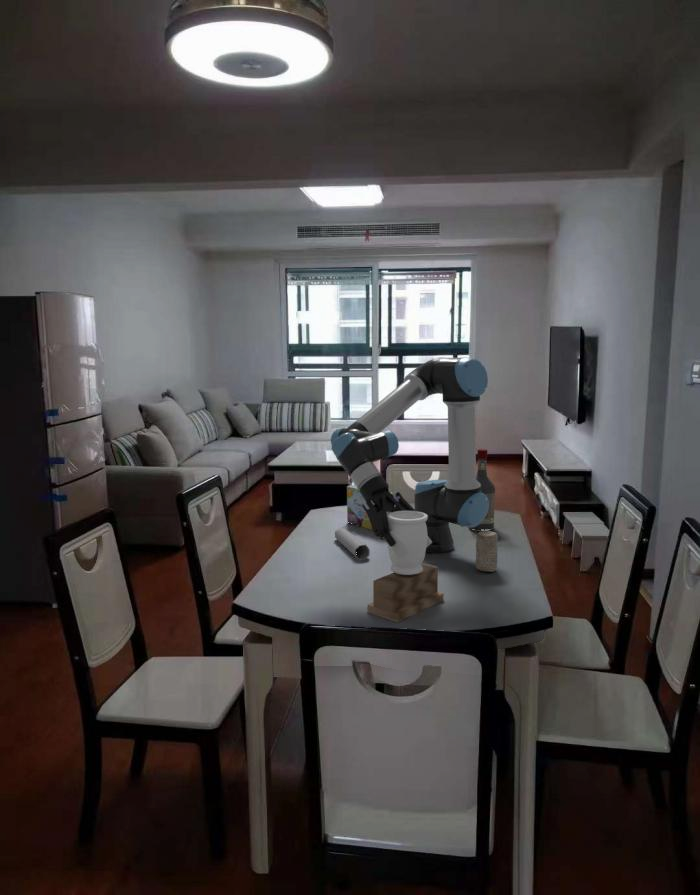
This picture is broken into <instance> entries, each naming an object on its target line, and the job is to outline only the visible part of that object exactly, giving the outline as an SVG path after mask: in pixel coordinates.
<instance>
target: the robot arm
mask: <svg viewBox="0 0 700 895" xmlns="http://www.w3.org/2000/svg"><path fill="white" fill-rule="evenodd" d="M488 377H489V376H488V372H487V369H486V367H485V365H483V364H482V362H481V361H479V360H478V359H476V358H470V357H436V358H435V357H434V358H432V359H430V360H427V361H425V362H424V363H422V364H421V365H418V367H416V368H415V369H413V370H412V371H410V372H409V373H408V374H407V375H406V376H405V377H404V378H403V382H401V384H400V385H398V386H397V387H396V388H395V389H394V390H392V391H391V392H389V394H387V395H386V396H384V398H382V399H381V400H380V401H379V402H378V403H376V404H375V405H374V406H372V407H371V408H370V409H369V410H368V411H366V412H365V413H364V414H363V415H361V416H360V417H359V418H358V419H357V420H355V421H354V422H352V423H351V424H350V425H348V427H340V428H336V429H335V430H334V431H333V432H332V435H331V437H330V444H331V451H332V453H333V454H334V456H335V458H336V460H337V461H338V462H339V463H340V465H341V467H342V468H343V469H344V471H345V472H346V474H347V475H348V477H349V478H350V479H351V481H352V482H353V485H356V487H357V488H358V489H360V493H361V495H362V496H363V498H364V499H365V501H366V502H365V503H364V504H363V508H364V510H365V511H366V512H367V515H368V518H369V520H370V523H371V526H372V528H373V530H372V531H373V534H374V536H375V537H379V539H381V540H382V539H384V540H385V541H386V543H388V544H389V546H391V547H392V549H393V550H394V552H395V553H396V555H397V556H398V558H401V557H402V556H403V555H404V554H405V553H406V552H407V551H406V550H405V548H404V547H403V545H402V544H401V543H400V541H399V540H398V538H397V537H396V535H395V534H394V532H393V531H391V532H390V530H389V524H388V518H387V513H386V512H396V511H418V512H422V513H425V514H427V515H428V519H427V521H425V523H426V526H427V546H426V552H425V554H428V553H429V554H430V553H431V554H436V553H437V554H438V553H447V552H450V551H452V550H453V549H454V544H455V543H454V539H453V535H452V531H451V528H450V524H454V525H457V526H460V527H463V528H464V527H465V528H469V527H476V526H478V525H479V524H480V523H481V522H482V521H483V520H484V518H485V517H486V515H487V512H488V508H489V501H488V498H487V497H486V495H485V494H483V493H481V484H480V483H479V482H478V481H477V480H476V475H477V465H476V464H477V456H476V455H477V453H476V452H477V450H476V444H477V443H476V405H477V404H478V403H479V402H480V401H481V396H482V395H483V394H484V393H485V391H486V388H488V382H489V381H488V380H489V379H488ZM437 394H440V395H442V402H443V403H444V404H445V405H446V407H447V431H448V432H447V433H448V434H447V435H448V442H447V443H448V445H447V446H448V479H430V480H422V481H420V482H417V483H416V485H415V487H414V489H415V490H414V494H413V495H414V507H413V506H412V505H411V504H410V503H409V502H408V501H407V500H406V499H405V498H404V497H403V496H402V493H400V492H399V491H397V492H396V493H394V495H392V494H391V493H392V492H391V493H390V491H389V484H388V482H387V480H386V479H385V478H384V476H383V475H381V474H382V473H381V472H380V470H379V469H378V467H377V466H376V465H375V464H374V462H377V461H378V462H379V461H381V460H383V459H388V458H389V457H392V456H393V455H395V454H397V452H398V451H399V446H400V445H399V439H398V437H397V435H396V434H395V433H394V431H392V430H385V429H386V428H388V427H389V426H390V425H391V424H392V423H393V422H395V421H396V420H397V419H398V418H400V416H402V415H403V414H404V413H405V412H406V411H407V410H409V409H410V408H411V407H412V406H413V405H414V404H416V403H417V402H418V401H425V400H426V399H427V398H428V397H429V396H433V395H437ZM378 529H379V530H378ZM389 532H390V533H389ZM388 544H387V545H388Z"/></svg>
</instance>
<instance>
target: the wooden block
mask: <svg viewBox="0 0 700 895" xmlns="http://www.w3.org/2000/svg"><path fill="white" fill-rule="evenodd" d="M421 565H422V567H423V571H422V572H420V573H418V574H413V575H402V574H397V573H394V572H392V573H389V574H387V575H384V576H381V577H379V578H377V579H374V580H373V591H372V592H373V595H372V596H373V598H372V600H373V601H372V602H370V603H367V613H369V614H372V615H375V616H377V617H380V618H383V619H387V620H389V621H392V622H395V623H400V622H402V621H404V620H406V619H408V618H410V617H412V616H414V615H416V614H419V613H421V612H422V611H424V610H427V609H429V608H431V607H433V606H434V605H437V604H439V603H441V602H442V601H444V595H445V594H444V592H442V591H439V590H438V587H439V586H438V584H439V583H438V582H439V581H438V580H439V579H438V578H439V572H438V571H439V566H436V565H432V564H429V563H426V562H422V564H421Z"/></svg>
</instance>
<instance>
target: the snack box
mask: <svg viewBox="0 0 700 895" xmlns="http://www.w3.org/2000/svg"><path fill="white" fill-rule="evenodd" d="M389 492H390V491H389ZM390 493H391V494H392V495H394V494H395V493H394V492H390ZM365 502H366V501H365V499H364V498H363V496H362V495H361V493H360V489H358V488H357V487H356V485H355V484H351V485H347V486H346V505H347V506H346V508H347V509H346V510H347V518H346V519H347V523H348V522H349V523H348V524H350V523H352V524H351V525H353V524H355V525H354V526H356V525H358V526H357V527H360V526H361V527H360V528H363V527H364V528H363V529H366V528H367V529H366V530H371V531H373V528H372V526H371V523H370V520H369V518H368V515H367V512H366V511H365V510H364V508H363V504H364V503H365ZM386 513H387V515H388V514H389V513H391V512H386ZM388 524H389V520H388ZM378 530H379V529H378Z"/></svg>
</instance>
